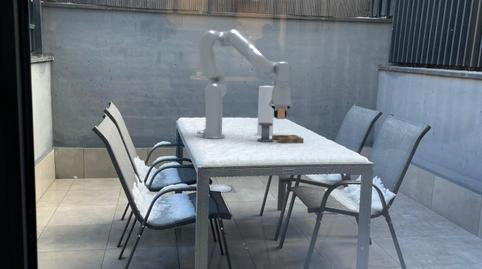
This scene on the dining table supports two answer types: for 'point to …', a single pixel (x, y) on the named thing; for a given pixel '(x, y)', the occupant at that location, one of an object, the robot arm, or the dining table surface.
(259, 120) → the white tall cylinder
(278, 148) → the dining table surface
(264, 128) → the spool
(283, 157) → the dining table surface
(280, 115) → the tab
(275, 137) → the board
